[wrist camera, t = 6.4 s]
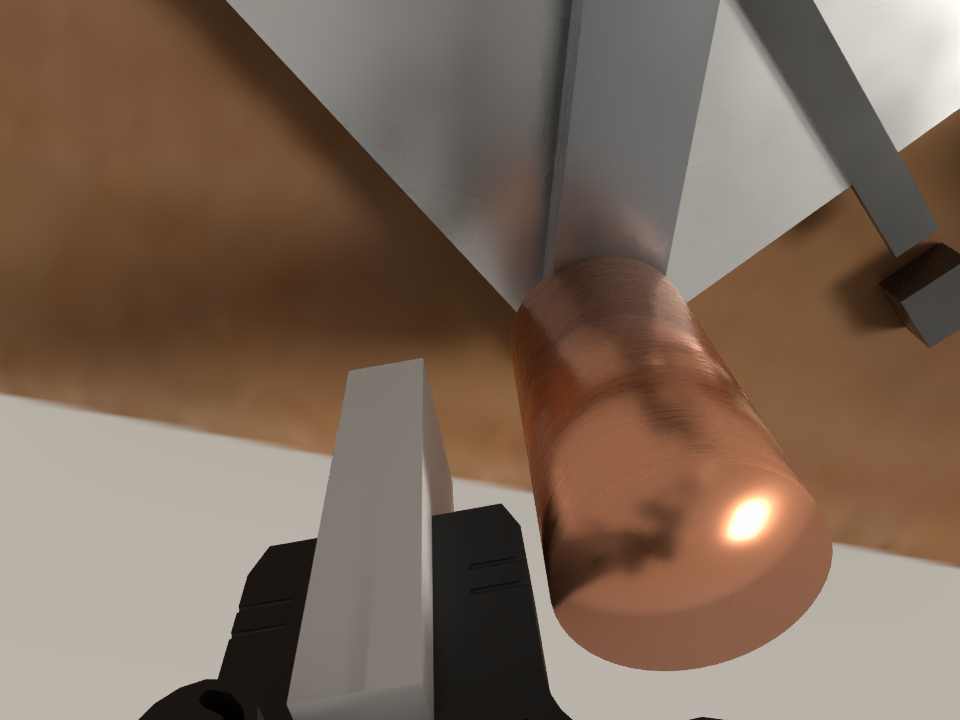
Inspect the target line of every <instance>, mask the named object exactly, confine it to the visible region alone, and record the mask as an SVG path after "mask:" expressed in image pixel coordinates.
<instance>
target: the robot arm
mask: <svg viewBox="0 0 960 720" xmlns="http://www.w3.org/2000/svg"><path fill="white" fill-rule="evenodd" d="M231 634H232V639H230V640H229V642H228V645H227V649H226V652H225V656H224V659H223V663H222V666H221V670H220V673H219V677H218V679H217V680H216V679H214V680H213V679H206V680H203V681H199V682H196V683H193V684H190V685H187V686H184V687H181V688H179V689H177V690H176V691H174V692H172V693H171V694H169V695H168V696H166V697H164V698H163V699H161V700H160V701H158V702H157V703H155V704H154V705H153V706H152V707H151V708H150V709H149V710H148V711H147V712H146V713H145V714H144V715H143V716H142V717H141V718H140V719H139V720H572V719H571V718H570V717H569V716H568V715H566V714H565V713H564V712H563V711H562V710H561V709H560V707H559V706H558V704H557V703H556V701H555V700H554V698H553V697H552V695H551V693H550V689H549V683H548V677H547V672H546V666H545V660H544V654H543V648H542V642H541V636H540V630H539V624H538V618H537V613H536V607H535V601H534V596H533V590H532V585H531V580H530V574H529V569H528V564H527V558H526V553H525V548H524V542H523V537H522V532H521V526H520V525H519V524H518V522H517V521H516V520H515V519H514V518H513V517H512V515H511V514H510V513H509V512H508V511H507V509H506V508H505V507H504V506H503V505H502V504H496V505H490V506H485V507H479V508H473V509H468V510H462V511H456V512H454V507H453V486H452V479H451V475H450V470H449V466H448V462H447V458H446V453H445V449H444V445H443V441H442V437H441V432H440V428H439V424H438V420H437V415H436V411H435V407H434V403H433V398H432V394H431V390H430V386H429V382H428V377H427V373H426V369H425V365H424V360H423V358H419V359H413V360H408V361H402V362H397V363H390V364H385V365H379V366H374V367H368V368H363V369H357V370H352V371H349V373H348V378H347V384H346V389H345V394H344V400H343V405H342V410H341V416H340V421H339V426H338V432H337V437H336V442H335V448H334V453H333V459H332V464H331V469H330V475H329V480H328V485H327V491H326V496H325V501H324V507H323V512H322V517H321V523H320V528H319V533H318V538H315V539H310V540H304V541H298V542H292V543H287V544H280V545H275V546H270V547H269V548H268V550H267V551H266V552H265V553H264V555H263V556H262V557H261V559H260V560H259V561H258V563H257V564H256V565H255V567H254V568H253V569H252V570H251V572H250V573H249V575H248V576H247V580H246V583H245V586H244V590H243V593H242V597H241V601H240V604H239V613H237V614H236V618H235V621H234V625H233V628H232V632H231ZM691 720H721V719H714V718H706V717H700V718H695V719H691Z"/></svg>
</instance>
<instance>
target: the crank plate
mask: <svg viewBox="0 0 960 720" xmlns="http://www.w3.org/2000/svg"><path fill="white" fill-rule="evenodd" d="M226 1H227V2H228V3H229V4H230V5H231V6H232V7H233V8H234V9H235V10H236V12H237V13H238V14H239V15H240V16H241V17H242V18H243V19H244V20H245V21H246V22H247V23H248V24H249V26H250V27H251V28H252V29H253V30H254V31H255V32H256V33H257V34H258V35H259V36H260V37H261V38H262V39H263V41H264V42H265V43H266V44H267V45H268V46H269V47H270V48H271V49H272V50H273V51H274V52H275V53H276V54H277V56H278V57H279V58H280V59H281V60H282V61H283V62H284V63H285V64H286V65H287V66H288V67H289V68H290V70H291V71H292V72H293V73H294V74H295V75H296V76H297V77H298V78H299V79H300V80H301V81H302V82H303V83H304V85H305V86H306V87H307V88H308V89H309V90H310V91H311V92H312V93H313V94H314V95H315V96H316V97H317V98H318V100H319V101H320V102H321V103H322V104H323V105H324V106H325V107H326V108H327V109H328V110H329V111H330V112H331V114H332V115H333V116H334V117H335V118H336V119H337V120H338V121H339V122H340V123H341V124H342V125H343V126H344V127H345V129H346V130H347V131H348V132H349V133H350V134H351V135H352V136H353V137H354V138H355V139H356V140H357V141H358V142H359V144H360V145H361V146H362V147H363V148H364V149H365V150H366V151H367V152H368V153H369V154H370V155H371V156H372V158H373V159H374V160H375V161H376V162H377V163H378V164H379V165H380V166H381V167H382V168H383V169H384V170H385V171H386V173H387V174H388V175H389V176H390V177H391V178H392V179H393V180H394V181H395V182H396V183H397V184H398V185H399V186H400V188H401V189H402V190H403V191H404V192H405V193H406V194H407V195H408V196H409V197H410V198H411V199H412V200H413V202H414V203H415V204H416V205H417V206H418V207H419V208H420V209H421V210H422V211H423V212H424V213H425V214H426V215H427V217H428V218H429V219H430V220H431V221H432V222H433V223H434V224H435V225H436V226H437V227H438V228H439V229H440V230H441V232H442V233H443V234H444V235H445V236H446V237H447V238H448V239H449V240H450V241H451V242H452V243H453V244H454V246H455V247H456V248H457V249H458V250H459V251H460V252H461V253H462V254H463V255H464V256H465V257H466V258H467V259H468V261H469V262H470V263H471V264H472V265H473V266H474V267H475V268H476V269H477V270H478V271H479V272H480V273H481V274H482V276H483V277H484V278H485V279H486V280H487V281H488V282H489V283H490V284H491V285H492V286H493V287H494V288H495V290H496V291H497V292H498V293H499V294H500V295H501V296H502V297H503V298H504V299H505V300H506V301H507V302H508V303H509V305H510V306H511V307H512V308H513V309H514V310H515V311H516V312H517V311H518V309H519V307H520V305H521V304H522V302H523V301H524V299H525V298H526V296H527V295H528V294H529V293H530V291H531V290H532V289H533V288H534V287H535V286H536V285H537V284H538V283H539V282H540V281H541V280H542V274H543V265H544V256H545V247H546V237H547V228H548V219H549V210H550V201H551V191H552V182H553V173H554V164H555V154H556V145H557V136H558V127H559V117H560V108H561V99H562V90H563V81H564V71H565V62H566V53H567V44H568V34H569V25H570V16H571V7H572V0H226ZM959 108H960V0H720V3H719V8H718V13H717V18H716V23H715V28H714V33H713V39H712V44H711V49H710V54H709V59H708V64H707V69H706V74H705V79H704V84H703V89H702V94H701V100H700V105H699V110H698V115H697V120H696V125H695V130H694V135H693V140H692V145H691V150H690V156H689V161H688V166H687V171H686V176H685V181H684V186H683V191H682V196H681V201H680V206H679V212H678V217H677V222H676V227H675V232H674V237H673V242H672V247H671V252H670V257H669V262H668V267H667V273H666V277H667V278H668V279H669V280H670V281H671V282H672V283H673V284H674V286H675V287H676V289H677V290H678V292H679V293H680V295H681V296H682V298H683V299H684V301H685V302H686V303H687V302H688V301H690V300H691V299H692V298H694V297H695V296H697V295H698V294H699V293H701V292H702V291H704V290H705V289H706V288H708V287H709V286H711V285H712V284H714V283H715V282H716V281H718V280H719V279H721V278H722V277H723V276H725V275H726V274H728V273H729V272H730V271H732V270H733V269H735V268H736V267H737V266H739V265H740V264H742V263H743V262H744V261H746V260H747V259H749V258H750V257H751V256H753V255H754V254H756V253H757V252H758V251H760V250H761V249H763V248H764V247H765V246H767V245H768V244H770V243H771V242H772V241H774V240H775V239H777V238H778V237H779V236H781V235H782V234H784V233H785V232H787V231H788V230H789V229H791V228H792V227H794V226H795V225H796V224H798V223H799V222H801V221H802V220H803V219H805V218H806V217H808V216H809V215H810V214H812V213H813V212H815V211H816V210H817V209H819V208H820V207H822V206H823V205H824V204H826V203H827V202H829V201H830V200H831V199H833V198H834V197H836V196H837V195H838V194H840V193H841V192H843V191H844V190H845V189H847V188H848V187H850V186H851V188H852V190H853V191H854V193H855V194H856V196H857V198H858V199H859V201H860V203H861V204H862V206H863V208H864V209H865V211H866V213H867V214H868V216H869V218H870V219H871V221H872V223H873V224H874V226H875V228H876V229H877V231H878V233H879V234H880V236H881V238H882V239H883V241H884V242H885V244H886V246H887V247H888V249H889V251H890V252H891V254H892V255H893V256H895V257H896V258H897V257H898V256H900V255H901V254H903V253H904V252H906V251H907V250H909V249H910V248H912V247H913V246H915V245H916V244H918V243H919V242H921V241H922V240H924V239H925V238H927V237H928V236H930V235H931V234H933V233H934V232H936V231H937V230H939V229H940V227H939V225H938V224H937V222H936V220H935V218H934V216H933V215H932V213H931V211H930V209H929V207H928V206H927V204H926V202H925V200H924V198H923V197H922V195H921V193H920V191H919V189H918V188H917V186H916V184H915V182H914V180H913V179H912V177H911V175H910V173H909V171H908V170H907V168H906V166H905V164H904V162H903V161H902V159H901V157H900V155H899V153H898V152H899V151H900V150H902V149H903V148H904V147H906V146H907V145H909V144H910V143H911V142H913V141H914V140H916V139H917V138H918V137H920V136H921V135H923V134H924V133H925V132H927V131H928V130H930V129H931V128H933V127H934V126H935V125H937V124H938V123H940V122H941V121H942V120H944V119H945V118H947V117H948V116H949V115H951V114H952V113H954V112H955V111H956V110H958V109H959ZM879 285H880V287H881V288H882V290H883V291H884V293H885V295H886V296H887V298H888V299H889V301H890V303H891V304H892V306H893V307H894V309H895V311H896V312H897V314H898V315H899V317H900V319H901V320H902V322H903V323H904V325H905V326H906V328H907V329H908V330H909V331H910V332H911V333H913V334H914V335H915V336H916V337H917V338H918V339H920V340H921V341H922V342H923V343H924V344H925V345H926V346H928V347H929V348H930V347H932V346H933V345H935V344H937V343H938V342H940V341H941V340H943V339H945V338H946V337H948V336H949V335H951V334H953V333H954V332H956V331H958V330H959V329H960V254H959V253H958V252H956V251H954V250H953V249H951V248H950V247H948V246H946V245H945V244H943V243H940V244H939V245H937V246H936V247H934V248H933V249H931V250H930V251H928V252H927V253H925V254H924V255H922V256H921V257H919V258H918V259H916V260H915V261H913V262H912V263H910V264H909V265H907V266H906V267H904V268H903V269H901V270H900V271H898V272H897V273H895V274H894V275H892V276H891V277H889V278H888V279H886V280H885V281H883V282H882V283H880V284H879Z"/></svg>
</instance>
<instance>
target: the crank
mask: <svg viewBox="0 0 960 720" xmlns="http://www.w3.org/2000/svg"><path fill="white" fill-rule="evenodd" d="M719 3H720V0H572V7H571V16H570V25H569V34H568V44H567V53H566V62H565V71H564V81H563V90H562V99H561V108H560V117H559V127H558V136H557V145H556V154H555V164H554V173H553V182H552V191H551V201H550V210H549V219H548V228H547V237H546V247H545V256H544V265H543V274H542V280H541V281H540V282H539V283H538V284H537V285H536V286H535V287H534V288H533V289H532V290H531V291H530V293H529V294H528V295H527V296H526V298H525V299H524V301H523V302H522V304H521V305H520V307H519V309H518V311H517V313H516V316H515V319H514V322H513V325H512V330H511V336H510V349H511V357H512V363H513V369H514V375H515V382H516V388H517V394H518V400H519V406H520V413H521V419H522V425H523V431H524V437H525V444H526V450H527V456H528V462H529V468H530V475H531V481H532V487H533V493H534V499H535V506H536V512H537V518H538V524H539V530H540V536H541V543H542V549H543V555H544V561H545V568H546V574H547V580H548V586H549V592H550V598H551V603H552V607H553V609H554V613H555V615H556V617H557V619H558V621H559V623H560V625H561V626H562V627H563V629H564V630H565V631H566V633H567V634H568V635H569V636H570V637H571V638H572V639H573V640H574V641H575V642H576V643H577V644H579V645H580V646H582V647H583V648H584V649H586V650H587V651H589V652H590V653H592V654H594V655H596V656H598V657H600V658H602V659H604V660H607V661H610V662H612V663H615V664H618V665H622V666H626V667H630V668H635V669H643V670H652V671H653V670H654V671H678V670H688V669H695V668H702V667H706V666H711V665H716V664H719V663H722V662H725V661H729V660H732V659H735V658H737V657H740V656H742V655H744V654H747V653H749V652H751V651H753V650H755V649H757V648H759V647H761V646H763V645H765V644H766V643H768V642H770V641H771V640H773V639H775V638H776V637H778V636H779V635H780V634H781V633H783V632H784V631H786V630H787V629H788V628H789V627H791V626H792V625H793V624H794V623H795V622H796V621H797V620H798V619H799V618H800V617H802V615H803V614H804V613H805V612H806V611H807V610H808V609H809V607H810V606H811V605H812V604H813V602H814V601H815V599H816V598H817V596H818V595H819V593H820V592H821V589H822V587H823V585H824V583H825V581H826V579H827V576H828V573H829V570H830V566H831V560H832V537H831V533H830V529H829V526H828V523H827V521H826V519H825V517H824V515H823V513H822V511H821V510H820V508H819V507H818V505H817V504H816V502H815V501H814V499H813V498H812V496H811V494H810V493H809V491H808V490H807V488H806V487H805V485H804V484H803V482H802V481H801V479H800V478H799V476H798V474H797V473H796V471H795V470H794V468H793V467H792V465H791V464H790V462H789V461H788V459H787V458H786V456H785V454H784V453H783V451H782V450H781V448H780V447H779V445H778V444H777V442H776V441H775V439H774V438H773V436H772V434H771V433H770V431H769V430H768V428H767V427H766V425H765V424H764V422H763V421H762V419H761V418H760V416H759V414H758V413H757V411H756V410H755V408H754V407H753V405H752V404H751V402H750V401H749V399H748V398H747V396H746V394H745V393H744V391H743V390H742V388H741V387H740V385H739V384H738V382H737V381H736V379H735V378H734V376H733V375H732V373H731V371H730V370H729V368H728V367H727V365H726V364H725V362H724V361H723V359H722V358H721V356H720V355H719V353H718V351H717V350H716V348H715V347H714V345H713V344H712V342H711V341H710V339H709V338H708V336H707V335H706V333H705V331H704V330H703V328H702V327H701V325H700V324H699V322H698V321H697V319H696V318H695V316H694V315H693V313H692V311H691V310H690V308H689V307H688V305H687V304H686V302H685V301H684V299H683V298H682V296H681V295H680V293H679V292H678V290H677V289H676V287H675V286H674V284H673V283H672V282H671V281H670V280H669V279H668V278H667V277H666V273H667V267H668V262H669V257H670V252H671V247H672V242H673V237H674V232H675V227H676V222H677V217H678V212H679V206H680V201H681V196H682V191H683V186H684V181H685V176H686V171H687V166H688V161H689V156H690V150H691V145H692V140H693V135H694V130H695V125H696V120H697V115H698V110H699V105H700V100H701V94H702V89H703V84H704V79H705V74H706V69H707V64H708V59H709V54H710V49H711V44H712V39H713V33H714V28H715V23H716V18H717V13H718V8H719Z"/></svg>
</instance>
